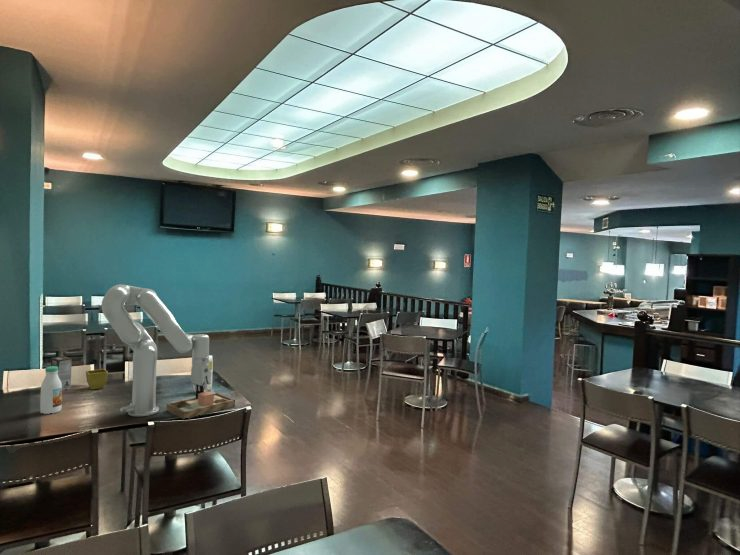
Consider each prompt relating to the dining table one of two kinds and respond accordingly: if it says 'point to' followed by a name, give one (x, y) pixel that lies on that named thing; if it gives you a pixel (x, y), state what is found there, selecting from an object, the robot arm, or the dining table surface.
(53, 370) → the milk bottle
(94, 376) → the flower pot
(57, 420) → the dining table surface
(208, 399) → the block
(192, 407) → the tray
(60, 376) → the coffee box
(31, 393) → the dining table surface
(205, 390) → the juice carton
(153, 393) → the robot arm
